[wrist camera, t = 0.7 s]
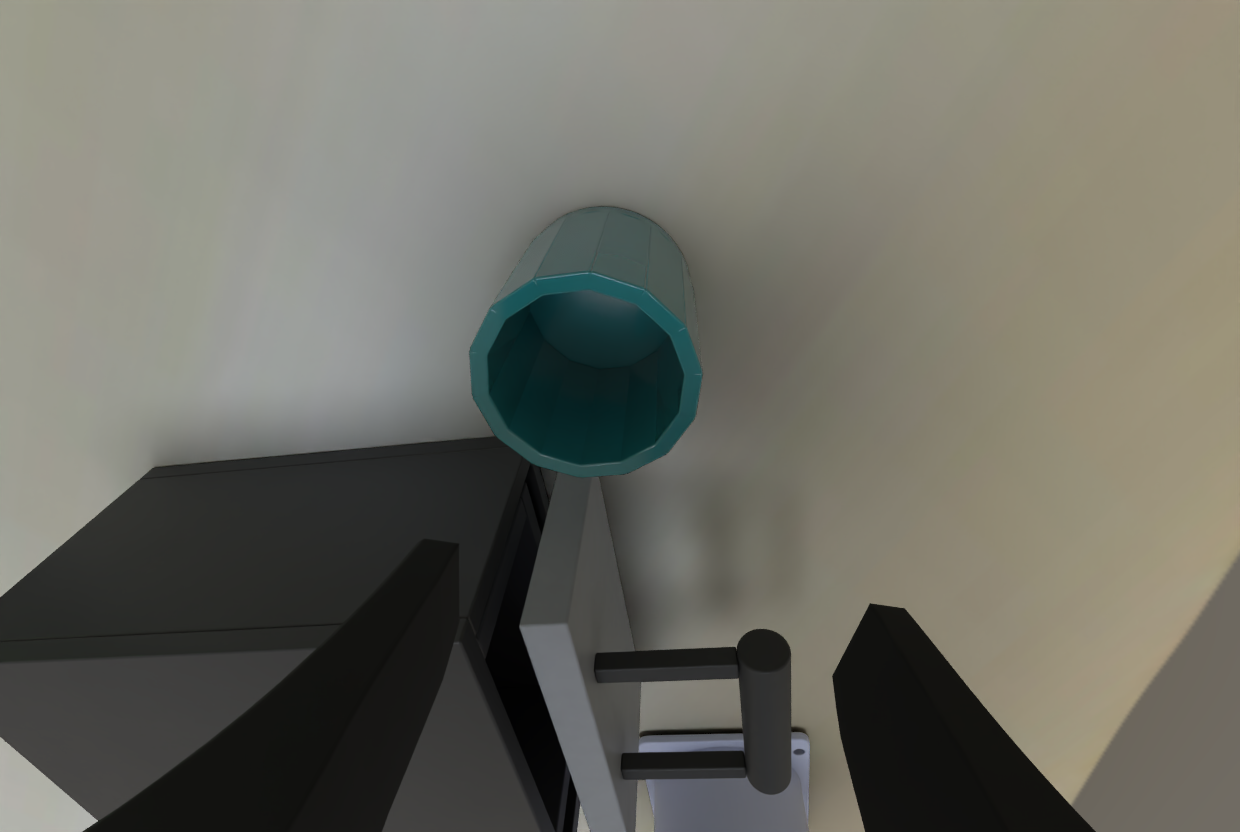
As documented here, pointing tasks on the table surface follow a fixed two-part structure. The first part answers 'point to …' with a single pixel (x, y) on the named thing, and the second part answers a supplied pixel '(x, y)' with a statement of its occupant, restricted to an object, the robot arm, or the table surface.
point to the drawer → (609, 669)
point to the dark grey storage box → (263, 620)
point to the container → (591, 347)
